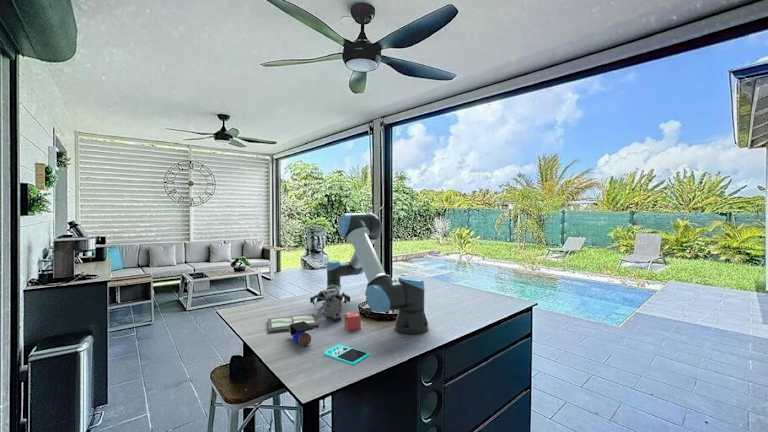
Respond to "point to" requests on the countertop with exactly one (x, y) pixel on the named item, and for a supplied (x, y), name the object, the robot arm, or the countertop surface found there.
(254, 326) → the countertop surface
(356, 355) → the handheld game console
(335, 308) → the figurine
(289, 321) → the divided rectangular tray
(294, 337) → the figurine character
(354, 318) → the red die
